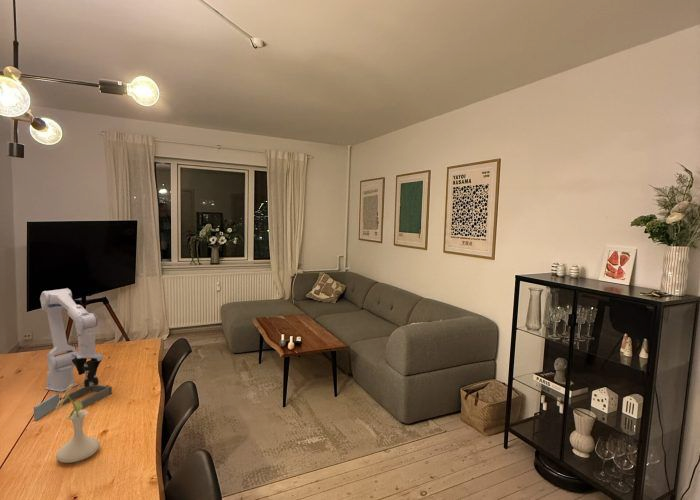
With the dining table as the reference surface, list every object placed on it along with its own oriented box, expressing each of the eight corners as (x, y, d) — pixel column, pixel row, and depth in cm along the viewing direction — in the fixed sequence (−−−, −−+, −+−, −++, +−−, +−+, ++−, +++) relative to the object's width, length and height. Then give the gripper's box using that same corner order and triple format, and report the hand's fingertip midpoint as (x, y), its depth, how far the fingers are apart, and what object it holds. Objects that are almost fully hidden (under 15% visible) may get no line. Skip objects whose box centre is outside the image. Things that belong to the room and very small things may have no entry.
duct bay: (59, 405, 148) (59, 397, 148) (91, 390, 162) (91, 383, 162) (81, 409, 146) (81, 401, 145) (111, 393, 159) (111, 386, 159)
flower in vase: (71, 444, 123) (70, 372, 121) (107, 444, 124) (106, 372, 122) (42, 470, 110) (40, 391, 108) (82, 470, 111) (81, 390, 109)
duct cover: (57, 404, 148) (56, 392, 148) (60, 404, 148) (59, 392, 148) (33, 420, 136) (33, 407, 136) (36, 420, 136) (36, 407, 136)
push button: (79, 390, 151) (76, 367, 150) (81, 384, 156) (78, 362, 154) (98, 386, 154) (95, 363, 153) (100, 380, 159) (97, 358, 158)
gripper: (63, 344, 150) (64, 376, 151) (92, 348, 147) (92, 381, 148) (79, 339, 157) (80, 369, 158) (107, 343, 154) (107, 374, 155)
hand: (87, 374), depth 153 cm, fingers closed on push button, 5 cm apart
